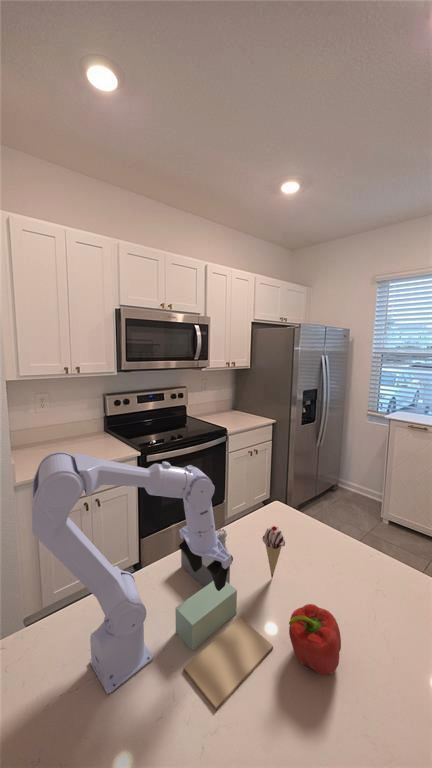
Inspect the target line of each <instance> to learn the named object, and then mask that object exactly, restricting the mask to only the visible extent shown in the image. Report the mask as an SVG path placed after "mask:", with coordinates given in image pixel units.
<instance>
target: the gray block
mask: <svg viewBox="0 0 432 768" xmlns="http://www.w3.org/2000/svg"><path fill="white" fill-rule="evenodd" d="M180 551H181V552H180V553H181V554H180V555H181V557H180V559H181V561H180V562H181V563H180V566H181V568H182V569H183V570H184V571H186V573H187V574H189V575H190V576H191V577H192V578H194V579H195V580H196V581H197V582H198V583H199V584H200V585H201V586H203V588H204V587H205V586H207V585H208V584H210V583H211V582H212V581H214V580H213V577H212V575H211V573H210V572H209V570H208V569H207V566H208V565H210V564H211V563H212V562H213V561H214V560H213V559H209V558H206V557H202V567H201V568H200V569H199V570H198V571H196V572H194V571H193V570H192V568H191V565H190V563H189V561H188V559H187V557H186V556H185V554H184V553H183V551H182V550H181V549H180ZM230 577H231V566H230V567H229V570H228V573H227V577H226V582H227V583H229V584H230V581H231V580H230V579H231V578H230Z"/></svg>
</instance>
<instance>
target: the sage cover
mask: <svg viewBox="0 0 432 768" xmlns="http://www.w3.org/2000/svg"><path fill="white" fill-rule="evenodd" d="M237 599H238V589H237V588H235V587H234V586H233V585H231V584H230V583H227V582H226V584H225V586H224V587H223V588H222V589H221V590H220V591H218V590H217V589H216V588H215V584H214V581H212V582H211V583H210V584H208V585H207V586H205V587H204V586H203V588H201V589H199V590H198V591H197V592H196V593H194V594H192V596H190V597H189V598H187V599H185V600H184V601H183V602H181V603H180V604H178V605H177V606H175V634H176V635H177V636H178V637H179V638H180V639H181V640H182V641H183V643H184V644H185V645H186V646H187V647H188V648H189V650H190V651H191V652H193V651H195V649H197V648H198V647H199V646H200V645H201V644H202V643H204V642H205V641H206V640H207V639H208V638H209V637H210V636H212V635H213V634H214V633H215V632H217V631H218V630H219V629H220V628H222V626H223V625H225V624H226V623H227V622H228V621H229V620H230V619H231V618H233V617H234V616H235V615H236V614H237V603H238V601H237Z"/></svg>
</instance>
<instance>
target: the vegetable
mask: <svg viewBox="0 0 432 768" xmlns="http://www.w3.org/2000/svg"><path fill="white" fill-rule="evenodd" d="M289 619H290V620H289V622H288V625H289V628H288V629H289V630H288V635H289V638H290V643H291V646H292V649H293V653H294V654H295V655H294V656H295V657H296V659H297V660H298V662H299V663H301V664H302V665H303V666H305V667H306V666H307V667H308V666H309V667H310V668H311V669H312V671H313V670H314V671H315V672H316V673H317V674H320V675H329V674H333V673H334V672H335V671H336V670H337V668H338V667H339V663H340V652H341V650H342V649H341V648H342V638H341V631H340V627H339V624H338V621H337V619H336V618H335V617H334V615H333V614H332V612H330V611H329V610H327V609H325V608H322V607H319V606H317V605H316V604H312V603H307V604H305V605H303V606H301V607H299V608H297V609H295V610H294V611H293V612H292V614H291V616H290V618H289Z"/></svg>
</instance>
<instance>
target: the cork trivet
mask: <svg viewBox="0 0 432 768" xmlns="http://www.w3.org/2000/svg"><path fill="white" fill-rule="evenodd" d="M273 649H274V645H273V644H272V643H271V642H270V641H268V640H267V639H266V638H265V637H264V636H262V634H261V633H259V631H257V630H256V629H255V628H254V627H253V626H251V625H250V624H249V623H248V622H247V621H245V619H244V618H242V617H239V618H238V619H237V620H235V621H234V622H233V623H232V624H230V626H228V627H227V629H225V630H224V631H223V632H222V633H221V634H220V635H218V636H217V637H216V638H215V639H214V640H213V641H211V643H210V644H208V645H207V646H206V647H205V648H204V649H202V650H201V651H200V652H199V653H198V654H197V655H195V656H194V657H193V658H192V659H191V660H190V661H189V662H188V663H187V664H185V665H184V666H183V671H184V673H186V675H187V676H188V678H189V679H190V680H191V681H192V683H194V685H195V686H196V688H197V689H198V690H199V691H200V692H201V693H202V695H203V696H204V697H205V698H206V699H207V702H209V703H210V705H211V706H212V707H213V708H214V710H215V711H217V710H218V709H219V708H220V707H221V706H222V705H223V704H224V703H225V702H226V701H227V699H228V698H230V696H231V695H232V694H233V693H234V692H235V690H236V689H237V688H238V687H240V685H241V684H242V683H243V682H244V681H245V680H246V679H247V678H248V677H249V675H250V674H251V673H252V672H253V671H254V670H255V669H256V668H257V667H258V666H259V664H261V662H263V660H264V659H265V658H266V656H267V655H268V654H269V653H270V652H271V651H272V650H273Z"/></svg>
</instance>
